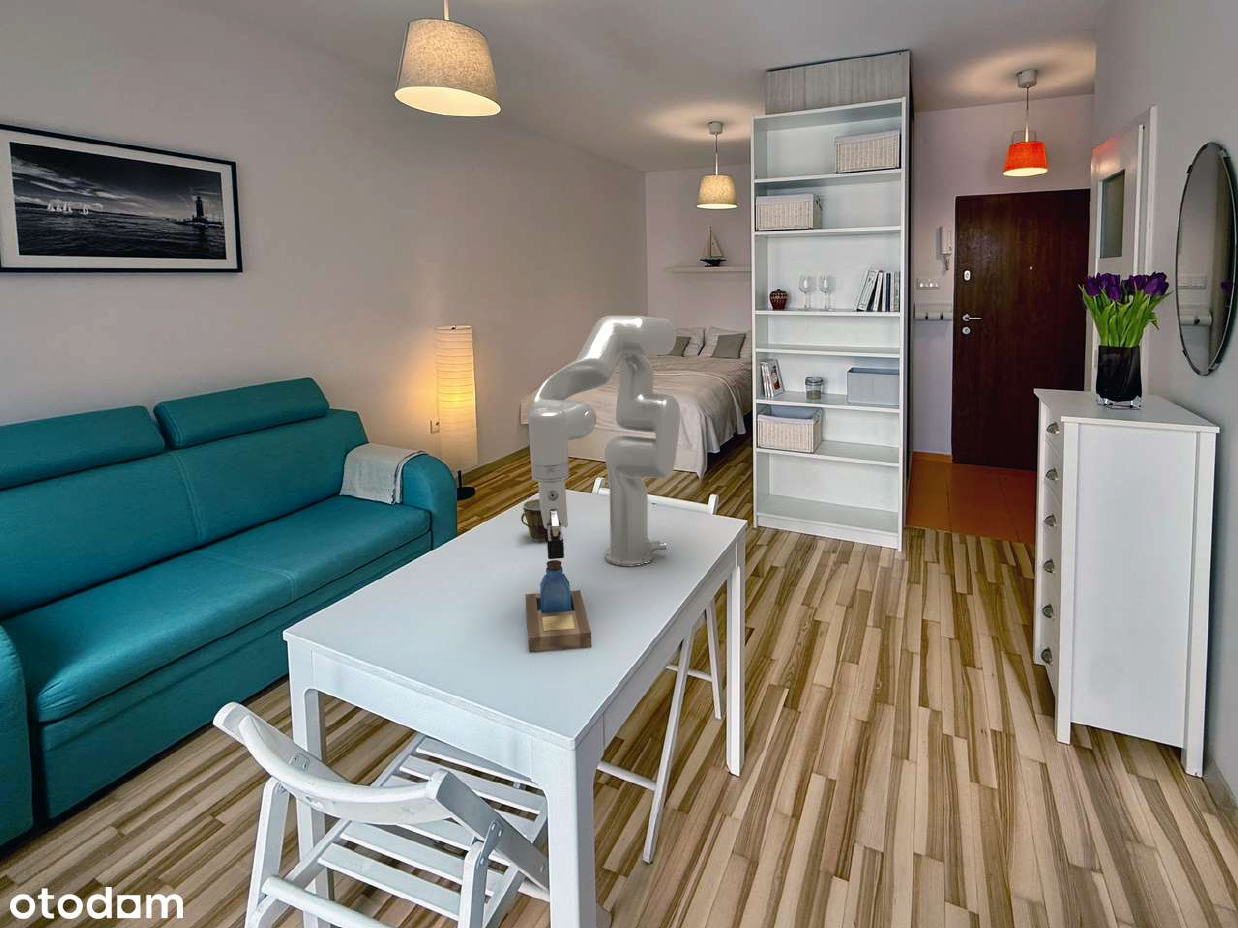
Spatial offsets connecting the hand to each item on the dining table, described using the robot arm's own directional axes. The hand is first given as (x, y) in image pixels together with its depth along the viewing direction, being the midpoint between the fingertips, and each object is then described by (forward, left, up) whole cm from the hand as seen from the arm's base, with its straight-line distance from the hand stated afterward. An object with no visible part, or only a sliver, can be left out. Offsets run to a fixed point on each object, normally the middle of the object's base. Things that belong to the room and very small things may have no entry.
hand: (554, 548), depth 151 cm
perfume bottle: (0, 0, -15) cm, 15 cm away
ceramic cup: (+1, -47, -15) cm, 49 cm away
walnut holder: (0, +4, -15) cm, 16 cm away
